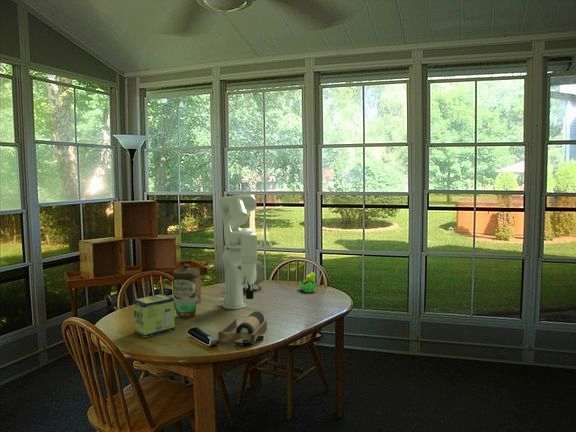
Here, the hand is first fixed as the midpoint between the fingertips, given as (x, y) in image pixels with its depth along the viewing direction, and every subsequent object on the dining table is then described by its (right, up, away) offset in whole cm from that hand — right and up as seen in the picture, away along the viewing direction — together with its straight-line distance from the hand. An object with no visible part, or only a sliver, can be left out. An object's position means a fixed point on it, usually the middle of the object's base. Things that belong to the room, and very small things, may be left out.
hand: (249, 298), depth 222 cm
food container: (-34, -13, +19) cm, 41 cm away
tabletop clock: (-6, -8, +76) cm, 77 cm away
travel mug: (+3, -10, +2) cm, 10 cm away
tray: (-2, -15, -8) cm, 17 cm away
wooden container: (-39, -11, +48) cm, 63 cm away
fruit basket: (+30, -8, +72) cm, 78 cm away
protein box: (-44, -15, -2) cm, 46 cm away
